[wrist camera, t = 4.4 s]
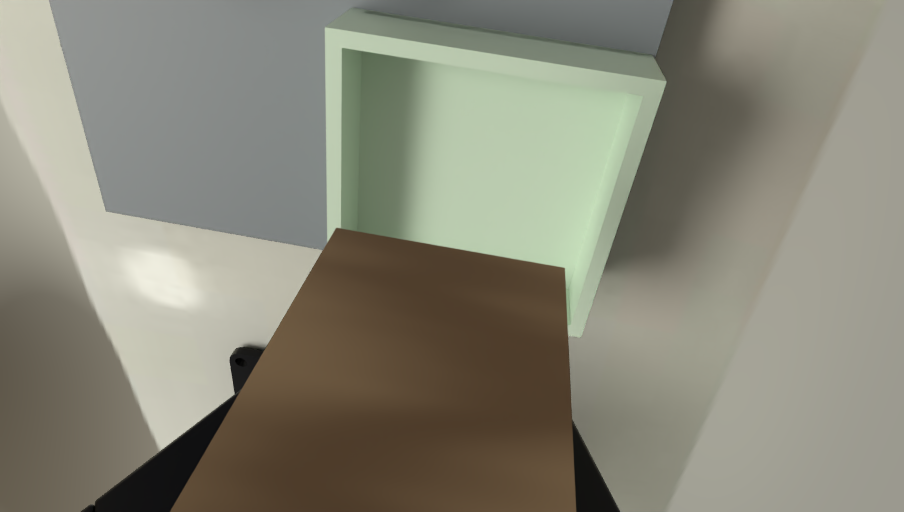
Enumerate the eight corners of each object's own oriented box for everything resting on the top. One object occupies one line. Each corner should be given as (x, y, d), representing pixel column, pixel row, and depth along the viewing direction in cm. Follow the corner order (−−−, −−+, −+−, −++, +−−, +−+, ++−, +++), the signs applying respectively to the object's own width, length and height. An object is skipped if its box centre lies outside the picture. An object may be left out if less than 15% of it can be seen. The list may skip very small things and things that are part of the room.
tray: (577, 292, 19) (580, 337, 17) (348, 252, 19) (328, 291, 18) (652, 54, 14) (666, 81, 13) (351, 7, 15) (324, 27, 13)
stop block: (564, 267, 10) (591, 838, 4) (521, 420, 12) (498, 923, 6) (336, 227, 10) (49, 718, 4) (335, 385, 12) (148, 844, 6)
